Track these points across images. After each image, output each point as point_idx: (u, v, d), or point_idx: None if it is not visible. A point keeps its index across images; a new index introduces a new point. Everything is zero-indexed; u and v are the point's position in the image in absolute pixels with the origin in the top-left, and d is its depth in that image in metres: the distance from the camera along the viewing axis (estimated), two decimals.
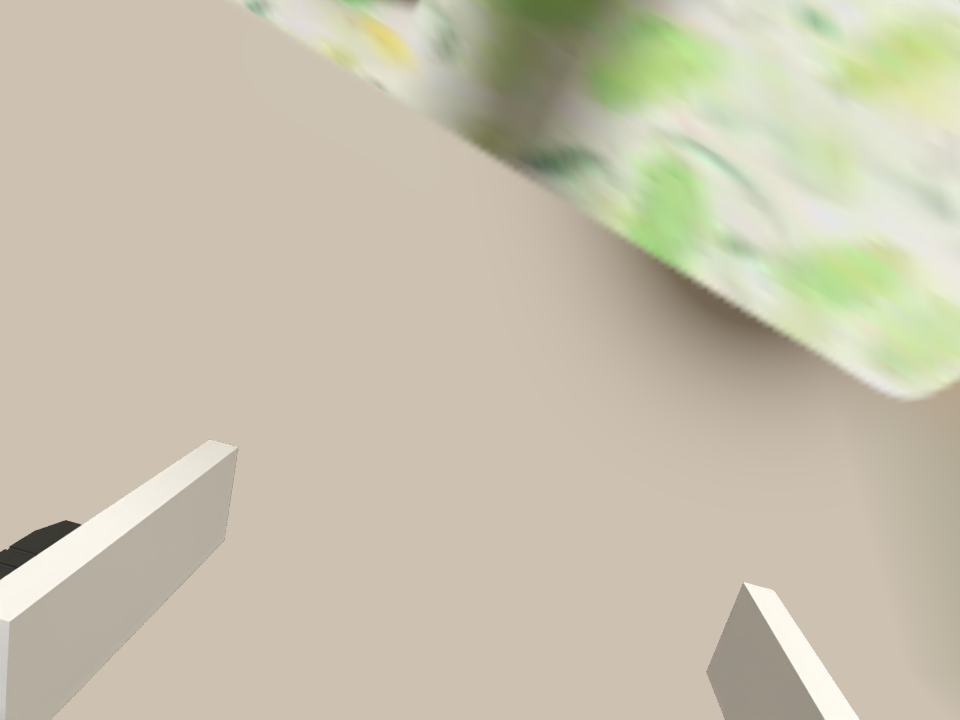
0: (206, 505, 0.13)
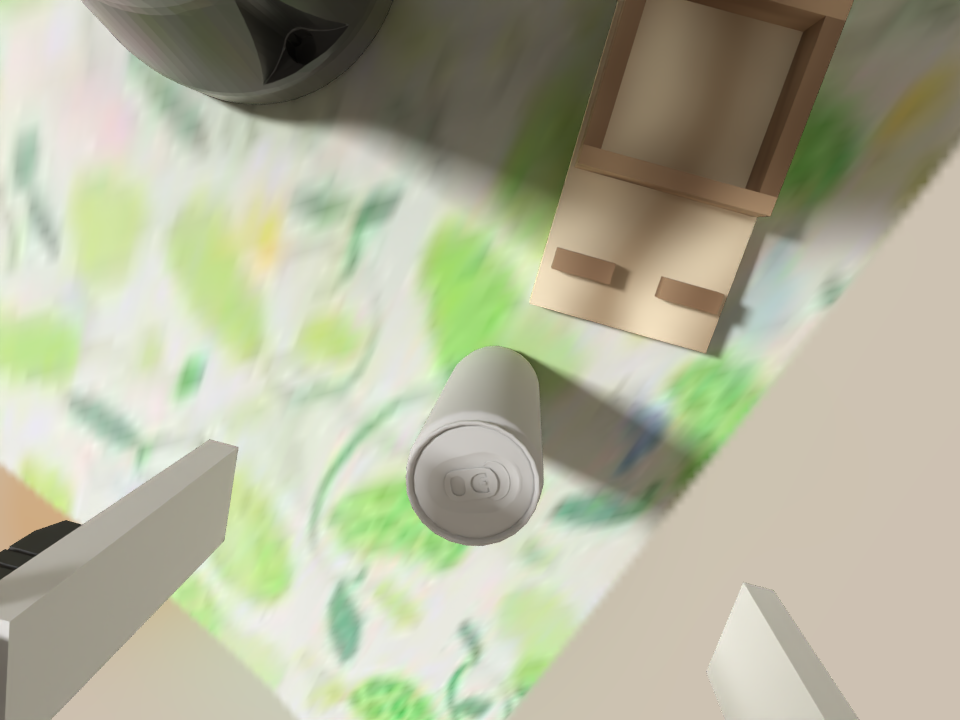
0: (206, 505, 0.13)
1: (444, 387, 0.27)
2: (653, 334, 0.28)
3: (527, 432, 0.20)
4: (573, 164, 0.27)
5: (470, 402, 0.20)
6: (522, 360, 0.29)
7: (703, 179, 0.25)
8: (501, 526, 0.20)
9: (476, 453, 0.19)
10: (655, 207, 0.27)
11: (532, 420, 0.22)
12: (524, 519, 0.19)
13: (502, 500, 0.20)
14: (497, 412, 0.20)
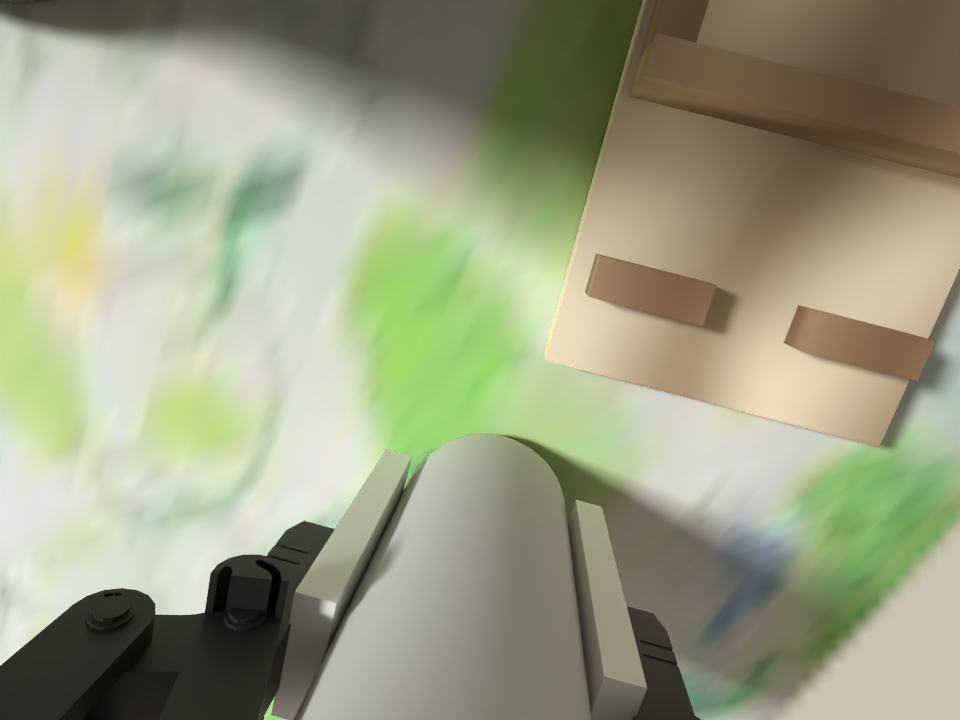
0: (394, 507, 0.15)
1: (381, 540, 0.13)
2: (779, 413, 0.15)
3: None
4: (627, 91, 0.14)
5: (399, 713, 0.07)
6: (534, 464, 0.16)
7: (919, 102, 0.11)
8: None
9: None
10: (789, 171, 0.14)
11: (571, 707, 0.08)
12: None
13: None
14: None
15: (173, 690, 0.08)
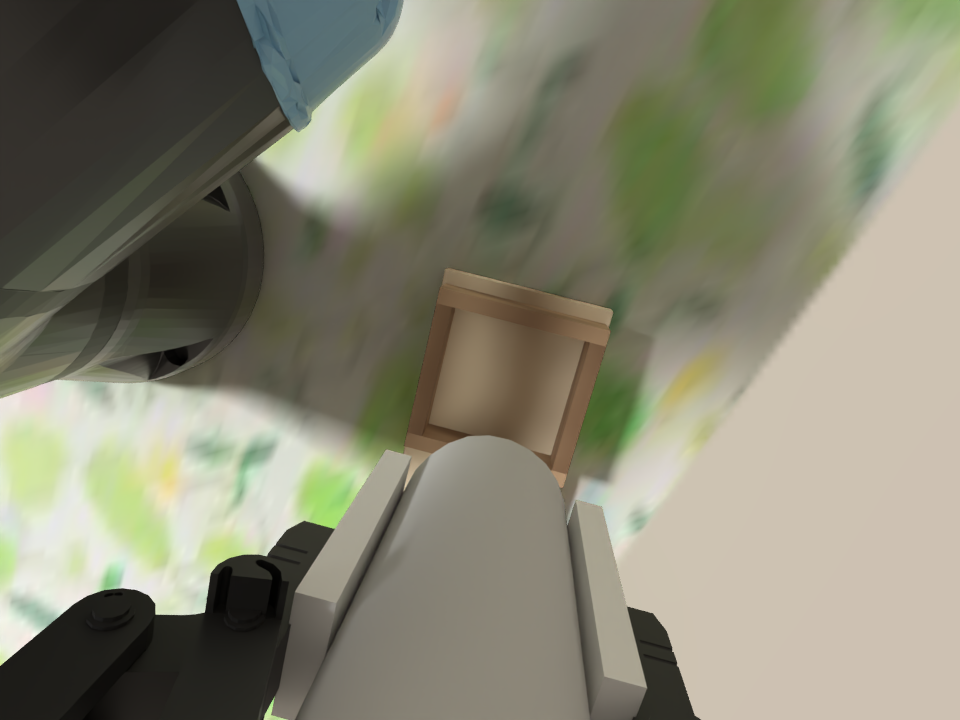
0: (394, 507, 0.15)
1: (380, 543, 0.13)
2: None
3: None
4: None
5: (398, 717, 0.07)
6: (533, 466, 0.16)
7: None
8: None
9: None
10: None
11: (570, 710, 0.08)
12: None
13: None
14: None
15: (173, 690, 0.08)
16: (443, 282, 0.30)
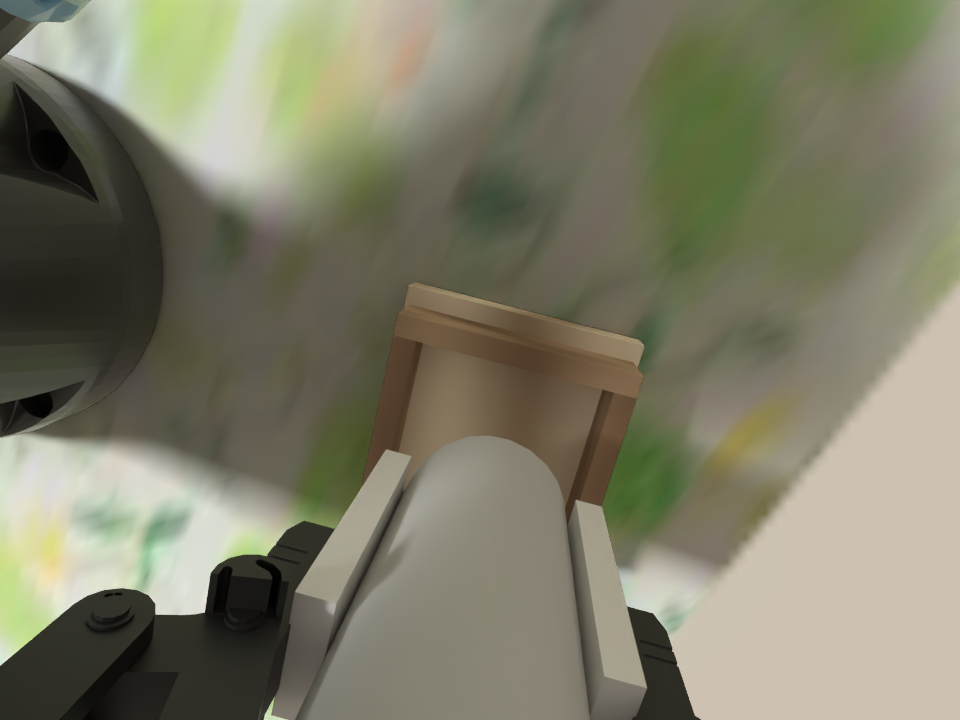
0: (394, 507, 0.15)
1: (380, 543, 0.13)
2: None
3: None
4: None
5: (399, 718, 0.07)
6: (533, 466, 0.16)
7: None
8: None
9: None
10: None
11: (570, 711, 0.08)
12: None
13: None
14: None
15: (173, 690, 0.08)
16: (406, 303, 0.22)
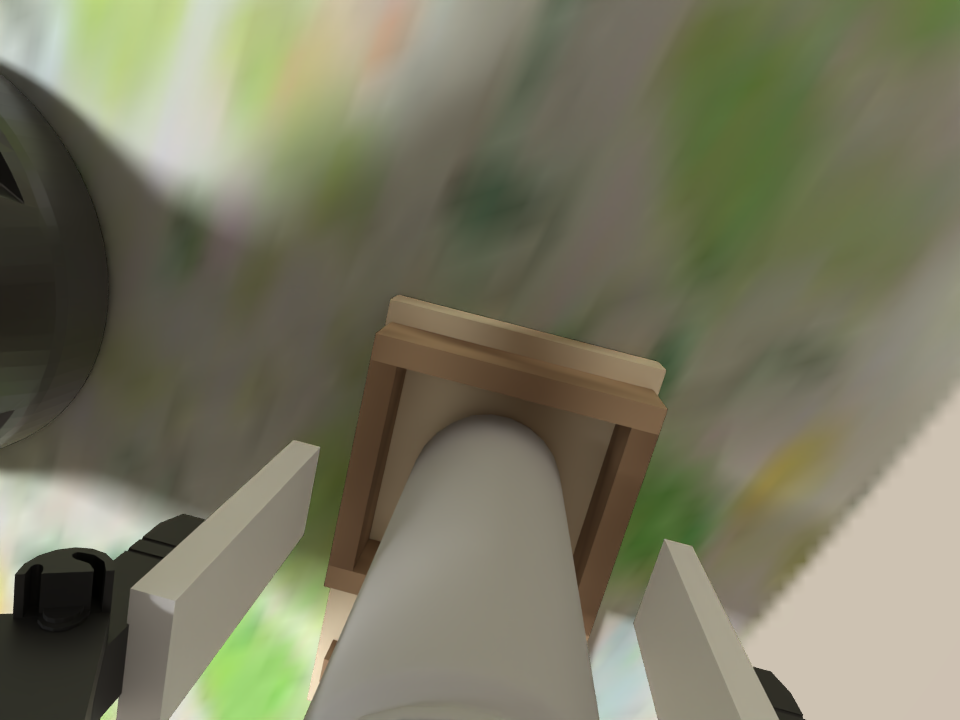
0: (296, 501, 0.14)
1: (398, 505, 0.15)
2: None
3: (570, 706, 0.08)
4: None
5: (434, 620, 0.09)
6: (532, 441, 0.17)
7: None
8: None
9: None
10: None
11: (570, 626, 0.10)
12: None
13: None
14: (498, 662, 0.08)
15: None
16: (388, 320, 0.18)
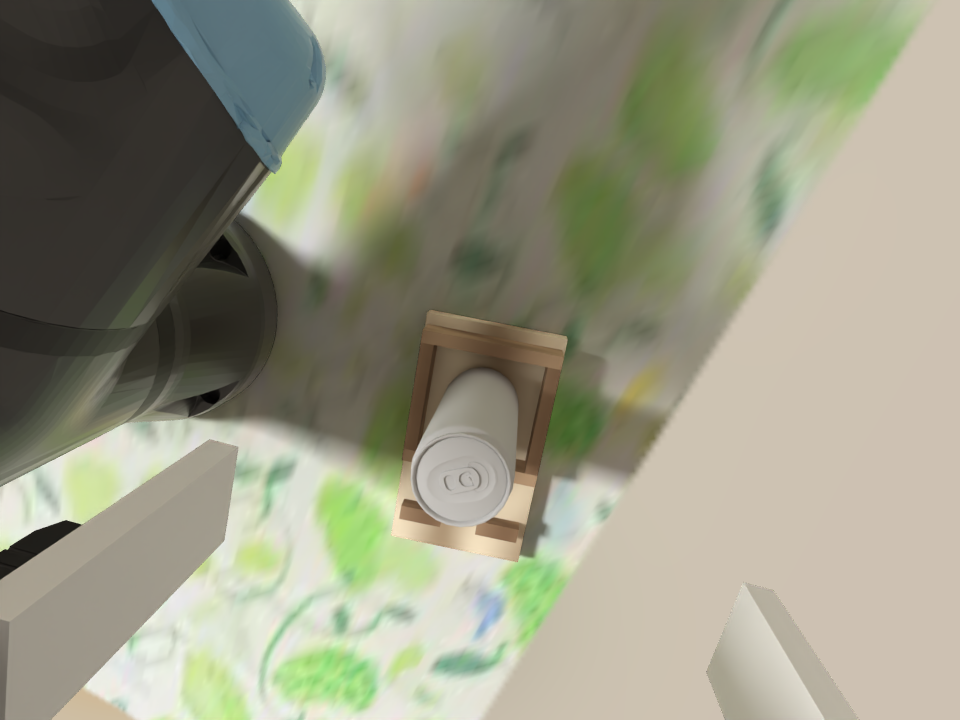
0: (206, 505, 0.13)
1: None
2: (479, 551, 0.40)
3: (499, 438, 0.26)
4: None
5: (455, 418, 0.27)
6: (501, 377, 0.35)
7: None
8: (485, 511, 0.26)
9: (461, 457, 0.26)
10: None
11: (505, 428, 0.28)
12: (501, 504, 0.26)
13: (484, 491, 0.26)
14: (475, 425, 0.26)
15: None
16: (426, 323, 0.36)
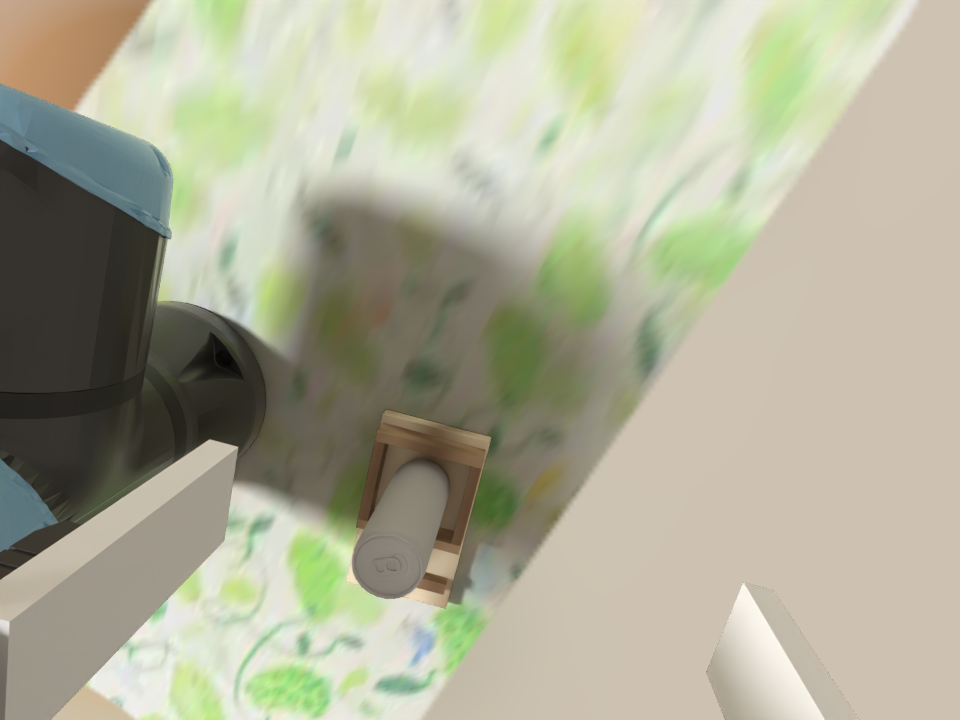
0: (206, 505, 0.13)
1: None
2: (415, 598, 0.50)
3: (417, 537, 0.36)
4: None
5: (387, 519, 0.37)
6: (436, 470, 0.46)
7: None
8: (403, 588, 0.36)
9: (388, 550, 0.36)
10: None
11: (425, 524, 0.38)
12: (415, 584, 0.36)
13: (403, 574, 0.36)
14: (401, 526, 0.36)
15: None
16: (381, 422, 0.47)
